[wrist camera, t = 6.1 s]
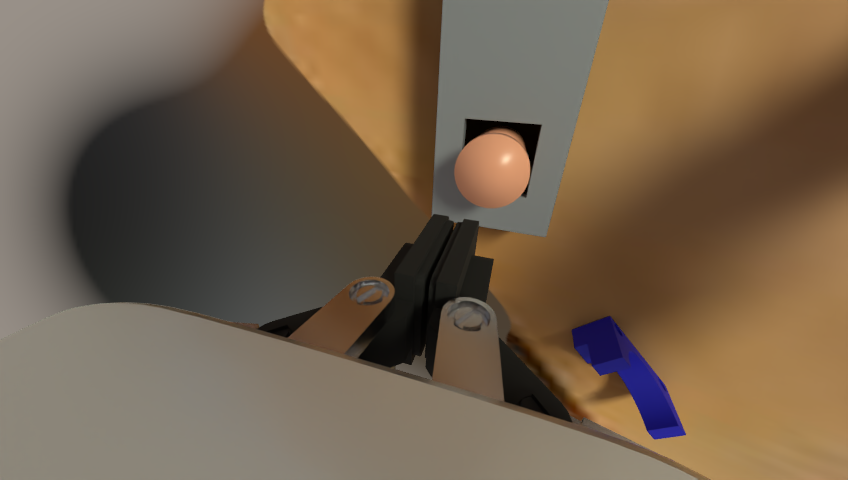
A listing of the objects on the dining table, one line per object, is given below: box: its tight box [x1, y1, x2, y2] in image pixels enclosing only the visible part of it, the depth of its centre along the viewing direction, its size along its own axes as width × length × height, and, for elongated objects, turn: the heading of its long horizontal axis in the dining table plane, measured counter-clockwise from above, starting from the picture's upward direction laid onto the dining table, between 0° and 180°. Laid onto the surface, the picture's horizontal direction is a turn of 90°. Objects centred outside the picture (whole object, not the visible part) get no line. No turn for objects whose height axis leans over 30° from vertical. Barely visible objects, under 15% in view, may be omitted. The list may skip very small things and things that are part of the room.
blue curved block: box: [572, 316, 686, 439], centre depth 34 cm, size 12×4×6 cm, turn 43°
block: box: [432, 0, 609, 237], centre depth 23 cm, size 10×26×6 cm, turn 178°
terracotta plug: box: [454, 126, 530, 208], centre depth 23 cm, size 5×5×6 cm
